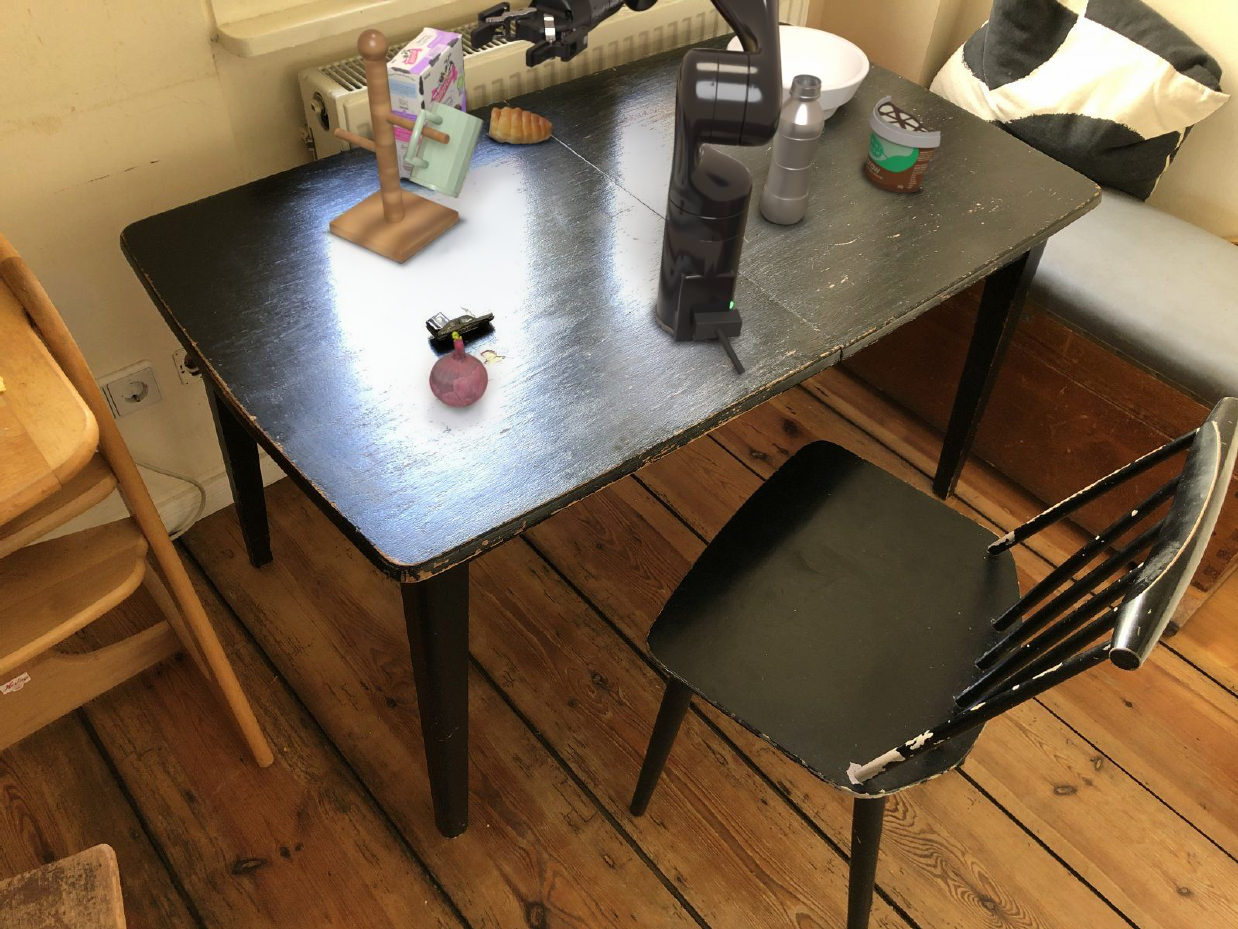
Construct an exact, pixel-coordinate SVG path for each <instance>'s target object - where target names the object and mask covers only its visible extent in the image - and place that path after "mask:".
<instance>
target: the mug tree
mask: <svg viewBox="0 0 1238 929" xmlns="http://www.w3.org/2000/svg"><path fill="white" fill-rule="evenodd" d="M356 47H357V51H358V53H359V55H360V56H361V58H362V61H363V67H364V75H365V83H366V89H367V97H368V104H369V112H370V120H371V126H372V135H373V140H370V139H369V138H366V137H363V136H361V135H358V134H356V133H354V132H351V131H348V130H345V129H343V128H340V127H337V128H335V130H334V136H335V138H338V139H340V140H342V141H345V142H348V143H350V144H352V145H355V146H358V147H360V148H363V149H365V150H367V151H370V152H372V153H375V157H376V164H377V172H378V179H379V180H378V181H379V187H380V188H379V189H377V190H376V191H375V192H373V193H372V194H370V195H369V196H367V197H366V198H364V199H363V200H361V201H359V202H358V203H356V204H355V205H353V206H352V207H351V208H349V209H347V210H346V211H344V212H342V213H341V214H340V215H338V216H337V217H335V218H334V219H332V220H331V221H329V222H328V225H329V230H330V233H331V234H334V235H336V236H338V237H340V238H343V239H345V240H347V241H349V242H352V243H354V244H356V245H358V246H361V247H363V248H365V249H368V250H370V251H372V252H374V253H376V254H379V255H380V256H381V255H382V256H384V257H386V258H388V259H390V260H393V261H395V262H397V263H399V264H403V263H405V262H406V261H407V260H408V259H410V258H412V257H413V256H414V255H416V254H417V253H418V252H420V251H421V250H422V249H424V248H425V247H426V246H428V245H429V244H430V243H431V242H433V241H435V239H437V238H438V237H439V236H441V235H442V234H444V233H445V232H447V231H448V230H449V229H451V228H452V227H453V226H455V225H456V224H457V223H459V221H460V216H459V211H458V210H456V209H453V208H450V207H448V206H446V205H444V204H441V203H438V202H436V201H433V200H431V199H429V198H426V197H424V196H422V195H419V194H417V193H414V192H411V191H409V190H406V189H404V188H402V184H401V178H400V174H399V166H398V157H397V148H396V140H395V131H394V125H396V126H399V127H401V128H404V129H407V130H409V131H412V132H413V128H414V125H415V122H414V121H412V120H409V119H406V118H404V117H401V116H398V115H396V114H393V113H392V105H391V97H390V88H389V80H388V71H387V62H388V61H387V56H388V54H389V51H390V44H389V40H388V38H387V37H386V35H385V34H384V33H383V32H382V31H380V30H379V29H376V28H368V29H365V30H363V31H362V32H361V33H359V36H358V38H357V41H356ZM421 135H422V136H425V137H427V138H430V139H433V140H435V141H438V142H440V143H443V144H448V142H449V140H450V136H449V135H448V134H446V133H443V132H441V131H438V130H435V129H433V128H430V127H427V126H425V125H424V126H423V129H422V132H421Z"/></svg>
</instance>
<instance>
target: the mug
mask: <svg viewBox="0 0 1238 929" xmlns="http://www.w3.org/2000/svg"><path fill="white" fill-rule="evenodd" d="M425 119H426V120H427V122H426V125H425V126H427V127H430V128H433V129H435V130H438V131H441V132H443V133H446V134H448V135H449V136H450V140H449V142H448V144H443V143H440V142H438V141H435V140H433V139H430V138H427V137H425V136H422V138H421V141H420V144H419V147H418V150H417V154H416V157H415V156H414V154H415V151H416V148H417V145H418V142H419V138H420V135H421V132H422V129H423V126H424V122H425ZM484 123H485V120H483V119H481V118H479V117H477V116H475V115H472V114H469V113H468V112H467V113H465V112H462V111H460V110H457V109H455V108H452V107H450V106H447V105H444V104H442V103H439V102H436V101H433V103H432V106H431V109H430V112H429V111H426V110H424V109H421V110H419V112H418V115H417V119H416V122H415V125H414V128H413V132H412V135H411V138H410V141H409V144H408V148H407V151H406V154H405V157H404V160H405V162H406V163H409V164H412V165H413V166H412V169H411V173H410V177H409V180H410V181H409V180H408V181H409V182H412V183H415V184H417V185H420V186H422V187H425V188H427V189H430V190H432V191H435V192H437V193H441V194H443V195H446V196H449V197H452V198H454V199H455V198H456V199H459V198H460V195H461V193H462V190H463V188H464V184H465V180H466V178H467V174H468V171H469V169H470V166H471V163H472V160H473V157H474V154H475V151H476V147H477V144H478V141H479V138H480V135H481V132H482V129H483V125H484Z"/></svg>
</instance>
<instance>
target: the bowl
mask: <svg viewBox="0 0 1238 929" xmlns="http://www.w3.org/2000/svg"><path fill="white" fill-rule="evenodd" d="M779 32H780V47H781V61H782V82H783V99H782V103H783V102H784V101H785V100H786V99H787V98H789V97H790V96H791V95H790V93H789V91H790V87H791V85H792V80H793V78H794V76H796V75H800V74H809V75H813V76H816V77H818V78H819V79H821V81H822V86H821V90H820V91H821V94H820V98H819V99H817V101H818V103H819V105H820V107H821V109H822V111H823V114H824V121H826V120H828V119H830V118H831V117H832V116H833V115H834V114H835V113H836V111H837V110H838V108H839V107H841V106H843V105H845V104H846V103H848V102H849V101H850V100H851V99H853V97H854V95H855V94H856V93H857V91H858V90H859V88H860V86H861V85H862V83H863V81H864V80H865V78H866V76H867V75H868V73H869V71H870V62H869V60H868V56H867V55H866V54H865V52H864V51H863V50H862V49H861V48H860V47H858V46H857V45H856V44H854V43H853V42H851V41H849V40H847V39H845V38H844V37H841V36H839V35H837V34H834V33H831V32H828V31H824V30H821V29H816V28H813V27H812V28H811V27H805V26H798V25H797V26H796V25H784V24H781V25H780V24H779ZM726 50H733V51H743V48H742V46H741V43H740V41H739V39H738V37H737V36H736V35H735V36H733V37H732V39H731V40H730V42H728V43H727V47H726Z"/></svg>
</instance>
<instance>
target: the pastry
mask: <svg viewBox="0 0 1238 929" xmlns="http://www.w3.org/2000/svg"><path fill="white" fill-rule="evenodd" d="M490 116H491V117H490V123H489V131H488V137H490V138H491V139H492V140H494V141H496V143H497V142H498V143H502V144H504V143H509V144H511V145H512V144H513V145H519V144H523V145H526V144H537V143H540V142H542V141H543V142H544V141H547V140H549V139H550V138H551V136H552V128H553V124H552V122H550V121H549V120H548V119H547V118H545V117H542V116H540V115H539V114H537V113H532V112H531V110H530V111H529V110H522V109H521V108H520V107H515V108H511V107H509V106H504V107H503V108H501V109H500V108H498V107H493V108H492V110H491V113H490Z"/></svg>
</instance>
